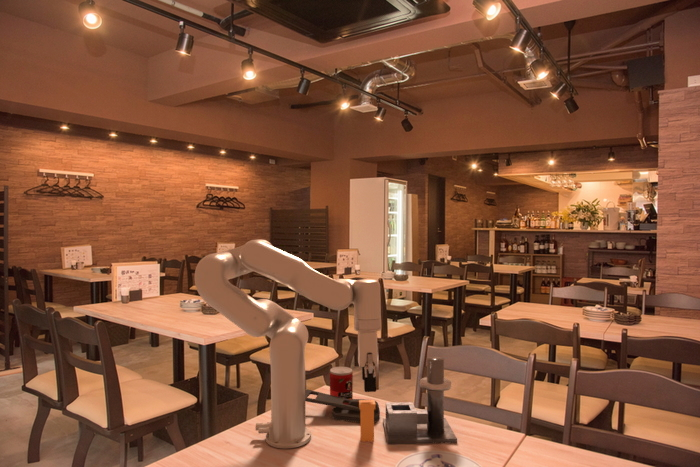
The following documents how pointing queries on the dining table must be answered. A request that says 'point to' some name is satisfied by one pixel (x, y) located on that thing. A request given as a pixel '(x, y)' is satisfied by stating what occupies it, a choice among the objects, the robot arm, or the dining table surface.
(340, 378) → the canned food
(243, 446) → the dining table surface
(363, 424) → the orange tapered block
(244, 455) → the dining table surface
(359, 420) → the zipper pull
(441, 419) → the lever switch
